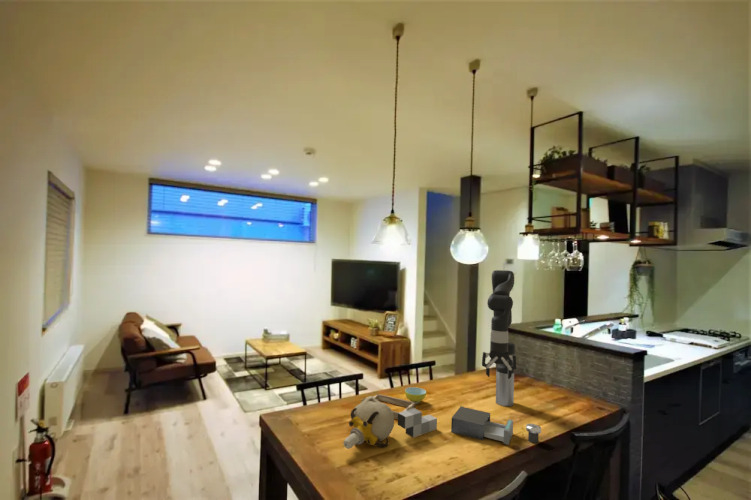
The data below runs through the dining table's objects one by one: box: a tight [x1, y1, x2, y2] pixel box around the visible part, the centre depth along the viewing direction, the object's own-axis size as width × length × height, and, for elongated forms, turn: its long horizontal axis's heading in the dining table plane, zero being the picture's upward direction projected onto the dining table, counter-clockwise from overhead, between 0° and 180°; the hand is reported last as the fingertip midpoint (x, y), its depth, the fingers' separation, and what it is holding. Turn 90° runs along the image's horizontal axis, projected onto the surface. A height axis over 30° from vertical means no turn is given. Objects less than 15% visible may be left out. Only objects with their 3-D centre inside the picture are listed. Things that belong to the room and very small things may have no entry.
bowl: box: [404, 386, 427, 405], centre depth 198 cm, size 11×12×6 cm
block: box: [397, 407, 438, 438], centre depth 163 cm, size 20×5×10 cm, turn 127°
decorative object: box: [342, 395, 395, 450], centre depth 153 cm, size 15×23×30 cm
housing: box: [450, 406, 491, 441], centre depth 168 cm, size 15×14×6 cm
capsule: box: [527, 431, 540, 444], centre depth 159 cm, size 4×4×4 cm
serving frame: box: [373, 393, 416, 420], centre depth 188 cm, size 17×22×3 cm
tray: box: [483, 418, 514, 446], centre depth 163 cm, size 12×15×6 cm
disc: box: [525, 423, 542, 434], centre depth 159 cm, size 6×6×2 cm
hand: (498, 377), depth 162 cm, fingers open, 8 cm apart
